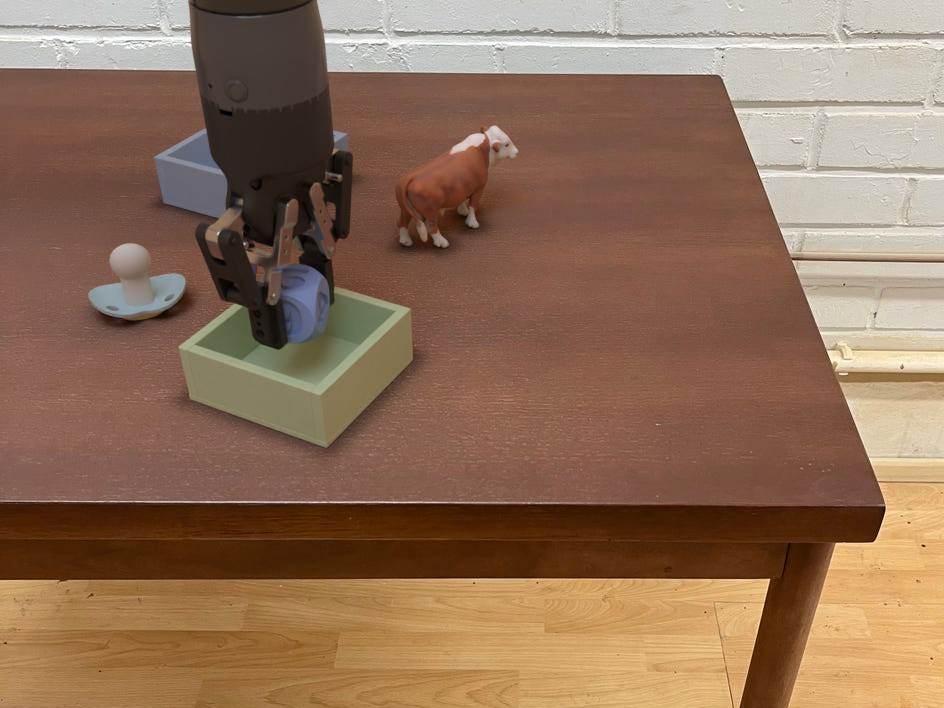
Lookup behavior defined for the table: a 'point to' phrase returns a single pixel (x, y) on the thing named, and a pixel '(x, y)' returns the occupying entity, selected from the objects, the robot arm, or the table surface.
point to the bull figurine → (450, 183)
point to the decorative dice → (304, 302)
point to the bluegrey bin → (200, 175)
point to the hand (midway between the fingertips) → (296, 323)
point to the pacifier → (136, 286)
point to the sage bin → (301, 367)
